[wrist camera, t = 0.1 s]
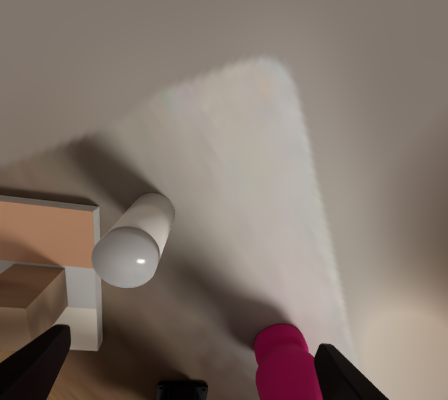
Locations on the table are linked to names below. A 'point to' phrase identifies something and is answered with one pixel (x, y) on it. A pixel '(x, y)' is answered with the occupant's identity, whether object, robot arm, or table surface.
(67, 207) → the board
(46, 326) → the block
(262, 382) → the pepper mill
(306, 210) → the table surface
